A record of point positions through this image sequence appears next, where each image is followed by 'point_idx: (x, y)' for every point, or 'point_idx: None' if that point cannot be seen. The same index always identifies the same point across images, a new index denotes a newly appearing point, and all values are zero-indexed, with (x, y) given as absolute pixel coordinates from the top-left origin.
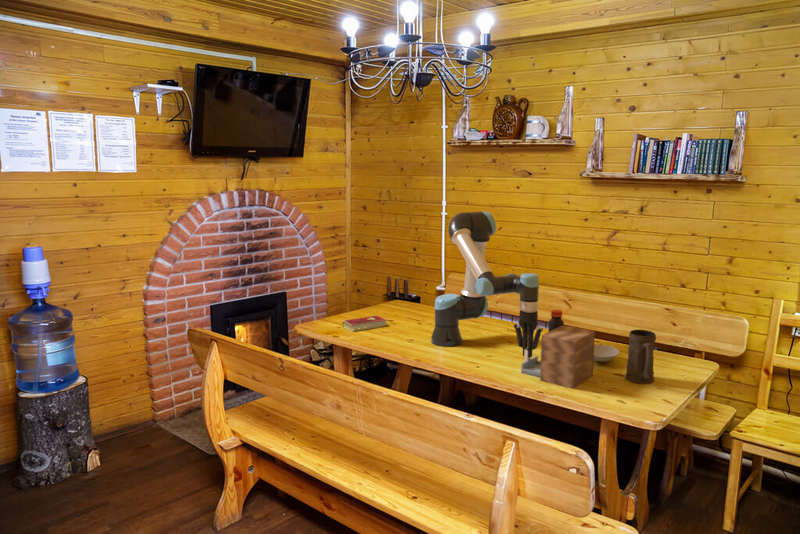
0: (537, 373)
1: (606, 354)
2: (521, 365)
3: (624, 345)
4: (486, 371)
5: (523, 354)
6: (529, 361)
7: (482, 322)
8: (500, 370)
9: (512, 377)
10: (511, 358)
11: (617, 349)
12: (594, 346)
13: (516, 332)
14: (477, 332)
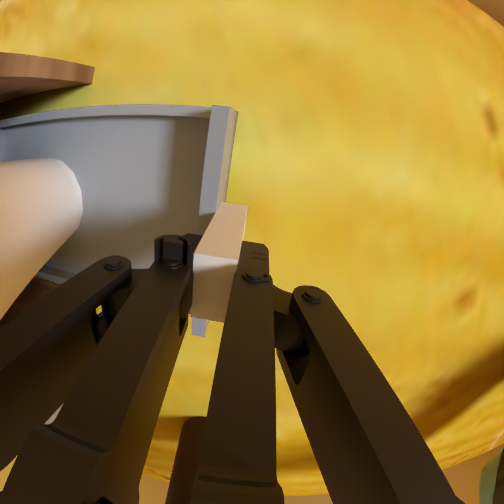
0: (112, 106)
1: None
2: (230, 107)
3: None
4: (437, 57)
5: (258, 249)
6: (199, 215)
7: (439, 462)
8: (380, 97)
9: (258, 12)
10: (368, 325)
11: None
12: None
13: (428, 460)
14: (462, 429)
